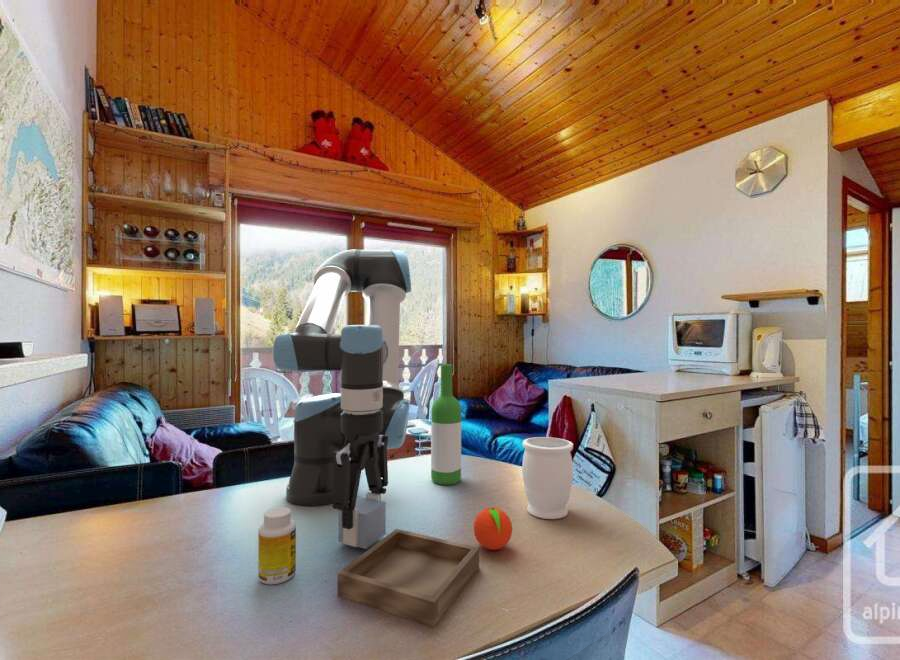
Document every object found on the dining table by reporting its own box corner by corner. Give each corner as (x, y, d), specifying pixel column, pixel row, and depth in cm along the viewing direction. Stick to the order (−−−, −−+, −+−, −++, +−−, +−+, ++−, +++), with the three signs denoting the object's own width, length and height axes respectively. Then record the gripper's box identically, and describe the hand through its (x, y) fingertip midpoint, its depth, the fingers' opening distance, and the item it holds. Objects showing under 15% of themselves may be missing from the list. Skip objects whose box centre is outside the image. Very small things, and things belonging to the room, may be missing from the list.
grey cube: (338, 541, 79) (338, 508, 79) (359, 527, 85) (359, 496, 85) (366, 548, 77) (365, 514, 77) (385, 533, 82) (385, 501, 82)
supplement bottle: (296, 582, 68) (296, 516, 68) (257, 589, 67) (257, 521, 66) (295, 564, 74) (295, 502, 74) (259, 570, 72) (259, 507, 72)
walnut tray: (337, 595, 65) (337, 573, 65) (396, 547, 79) (396, 528, 79) (434, 627, 58) (434, 602, 58) (479, 568, 73) (479, 547, 73)
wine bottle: (467, 480, 114) (467, 364, 114) (447, 488, 109) (447, 366, 108) (444, 473, 120) (445, 362, 119) (424, 481, 114) (425, 364, 114)
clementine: (519, 558, 76) (519, 517, 75) (479, 562, 74) (479, 520, 74) (505, 537, 83) (505, 499, 83) (469, 539, 82) (469, 501, 82)
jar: (568, 503, 99) (568, 436, 99) (577, 523, 89) (577, 449, 89) (520, 501, 100) (520, 435, 100) (523, 521, 90) (524, 447, 90)
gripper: (345, 423, 70) (345, 567, 71) (407, 402, 87) (406, 518, 88) (308, 418, 73) (309, 556, 74) (375, 399, 90) (375, 511, 91)
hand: (362, 535), depth 81 cm, fingers closed on grey cube, 6 cm apart
